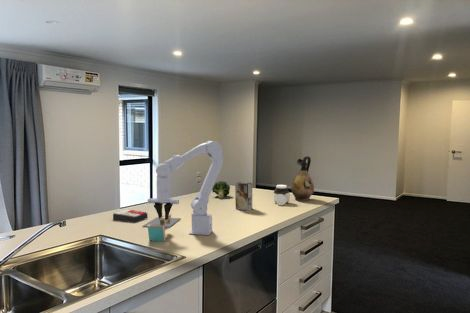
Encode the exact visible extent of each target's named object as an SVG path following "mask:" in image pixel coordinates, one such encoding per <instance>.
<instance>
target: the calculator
mask: <svg viewBox="0 0 470 313" xmlns="http://www.w3.org/2000/svg"><path fill="white" fill-rule="evenodd" d="M145 218H146V219H147V218H148V212H146V211H141V210H135V209H122V210H119V211H116V212H114V213H113V214H112V220H113V221H122V222H128V221H129V222H128V223H138V222H140V221H142V219H143V220H145ZM139 220H140V221H139Z"/></svg>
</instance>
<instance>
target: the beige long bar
mask: <svg viewBox="0 0 470 313" xmlns="http://www.w3.org/2000/svg"><path fill="white" fill-rule="evenodd" d="M171 218H172V214H171V213H169V217H168V219H167V220H165V214H164V215H162V217H160V225H164V227H165V231H166V230H168V229H170V228H169V226H165V224H164V223H166V224H170V219H171Z"/></svg>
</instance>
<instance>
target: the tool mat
mask: <svg viewBox="0 0 470 313" xmlns="http://www.w3.org/2000/svg"><path fill="white" fill-rule="evenodd" d="M181 220H182V218H179V217H171V219H170V224H166V223H164V224H165V226H169V228H168V229H170V228H171V227H173V226H174V225H175V224H177V223H178V222H180V221H181ZM149 224H151V225H160V219H159V217H158V216H157V217H156V216H155V218H153V219H151V220H149V221H148V222H147V223H145V224H143V225H142V228H148V225H149Z"/></svg>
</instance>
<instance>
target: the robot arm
mask: <svg viewBox="0 0 470 313" xmlns="http://www.w3.org/2000/svg"><path fill="white" fill-rule="evenodd" d="M200 154H206V155H208V156H209V158H210V160H211V164H210V166H209V168H208V171H207V173H206V176H205V177H204V180H203V182H202V185H201V187H200V190H199V192H198V193H197V195H196V197H195V198H194V199H193V200H192V201H191V203H190V206H191V209H192V212H191V231H190V232H189V233H188V234H189V235H204V236H209V235H210V234H211V233H212V232H213V216H212V214H208V212H207V211H208V203H209V200H210V198H209V197H210V195H211V193H212V188H213V186H214V184H215V183H216V181H217V178H218V176H219V173H221V172H220V171H221V170H222V167H223V164H224V156H223V148H222V146H221V144H220V142H218V141H216V140H214V141H213V140H207V141H206V142H203V143H200V144H199V145H197V146H195V147H192V148H191V149H190V150H188V151H187V152H185V153H184V154H182V155H180V154H173V155H172V157H171V158H169V159H167V160H163V163H159V164H158V165H157V166H156V168H155V173H156V198H147V204H153V207H154V209H155V211H156V213H157V217H159V219H160V217H162V216H163V207H164V215H165V220H167V219H168V217H169V214H170V213H171V209H172V206H173V205H174V204H175V205H179V204H180V199H178V198H177V199H176V198H171V197H170V179H169V178H170V176H169V175H170V173H173V172H175V171H177V170H178V169H179V168H181V167H183V166H184V165H185V162H187V161H189V160H190V159H193V158H195V157H196V156H198V155H200ZM163 204H164V205H163Z"/></svg>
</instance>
